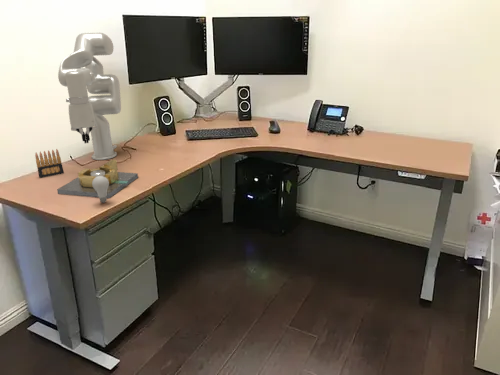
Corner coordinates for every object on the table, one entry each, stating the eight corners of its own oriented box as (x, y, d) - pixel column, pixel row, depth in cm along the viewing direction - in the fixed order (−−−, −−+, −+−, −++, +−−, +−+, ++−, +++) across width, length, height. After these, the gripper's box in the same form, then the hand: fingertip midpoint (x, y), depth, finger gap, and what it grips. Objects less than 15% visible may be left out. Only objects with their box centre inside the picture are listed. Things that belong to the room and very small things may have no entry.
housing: (91, 174, 197) (89, 161, 194) (140, 177, 191) (138, 165, 188) (58, 193, 175) (55, 180, 173) (111, 198, 169) (109, 184, 167)
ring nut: (101, 168, 196) (99, 158, 194) (130, 170, 193) (129, 160, 191) (72, 185, 177) (70, 174, 175) (104, 188, 173) (103, 177, 172)
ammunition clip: (39, 178, 193) (33, 153, 189) (38, 177, 195) (33, 152, 190) (64, 173, 198) (59, 149, 194) (63, 172, 200) (58, 148, 195)
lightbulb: (113, 199, 169) (109, 173, 165) (109, 205, 163) (105, 178, 159) (98, 199, 169) (93, 173, 165) (93, 205, 163) (88, 179, 159)
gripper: (59, 103, 173) (68, 146, 180) (98, 100, 178) (104, 142, 184) (60, 100, 180) (68, 142, 187) (97, 97, 184) (104, 138, 191)
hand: (86, 142), depth 185 cm, fingers closed
